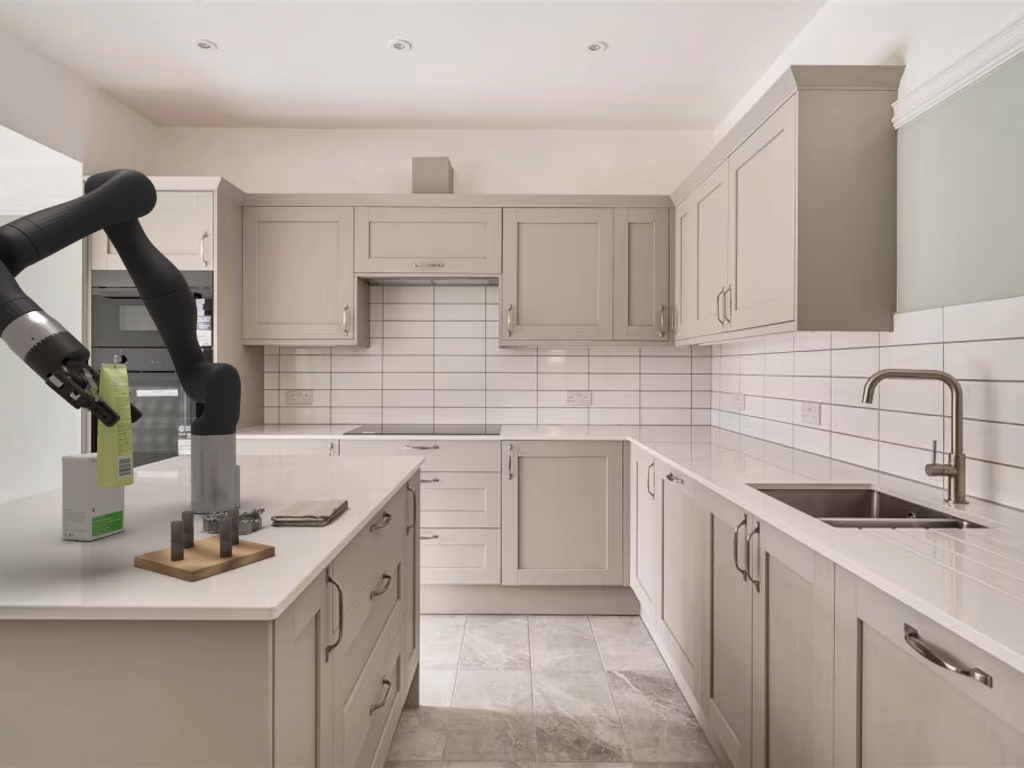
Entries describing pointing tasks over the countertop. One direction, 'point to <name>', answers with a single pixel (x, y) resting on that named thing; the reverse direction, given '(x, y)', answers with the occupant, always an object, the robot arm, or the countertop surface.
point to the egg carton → (245, 521)
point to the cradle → (203, 550)
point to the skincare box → (88, 501)
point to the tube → (115, 430)
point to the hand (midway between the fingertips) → (126, 421)
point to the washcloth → (309, 513)
